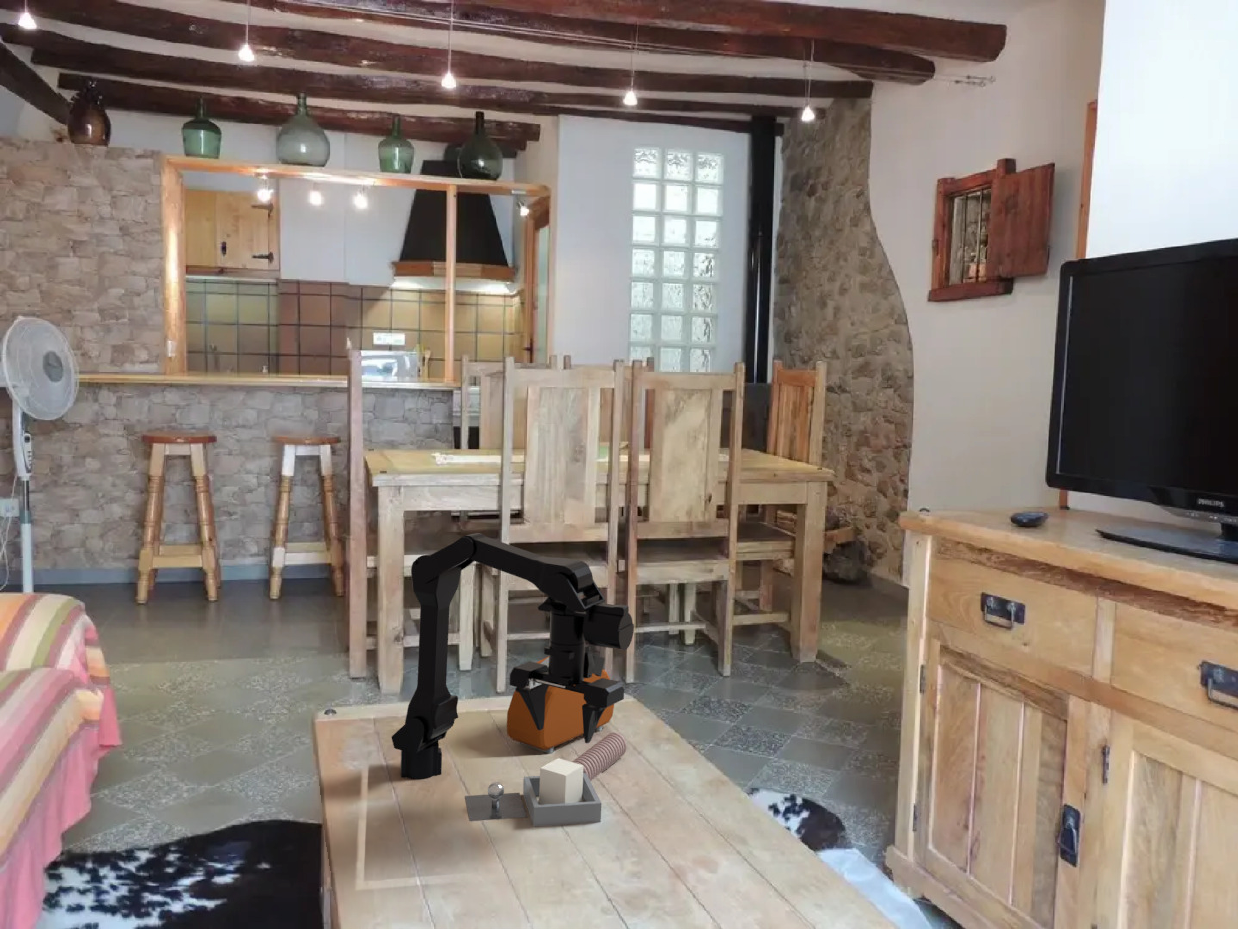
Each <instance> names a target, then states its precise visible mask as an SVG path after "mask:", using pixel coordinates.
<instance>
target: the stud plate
mask: <svg viewBox="0 0 1238 929" xmlns="http://www.w3.org/2000/svg"><path fill="white" fill-rule="evenodd" d="M464 799H465V803H466V810H467V814H468V821H469V822H475V821H477V822H478V821H493V820H507V819H518V818H519V819H522V818H528V814H527V813H526V809H525V806H524V803H523V799H522V796H521V793H520V792H507V793H505V787H504V786H503V784H502V783H500V782H499V781H494V782H492V783H490V785H488V788H487V794H478V795H477V794H476V795H474V794H473V795H464Z"/></svg>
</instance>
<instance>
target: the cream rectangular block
mask: <svg viewBox="0 0 1238 929" xmlns="http://www.w3.org/2000/svg"><path fill="white" fill-rule="evenodd" d="M583 767H584V766H583V765H580V764H577V763H573V762H572V761H570V760H567V759H563V758H559V757H558V758H556V759H554V760H552V761H549V763H547V764H545V765H543V766H541V767H539V768H540V769H539V776H540V788H539V796H538V804H539V805H545V804H561V803H576V802H583V794H582V791H583Z"/></svg>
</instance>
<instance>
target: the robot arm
mask: <svg viewBox="0 0 1238 929" xmlns="http://www.w3.org/2000/svg"><path fill="white" fill-rule="evenodd" d="M475 562H476V563H479V564H482V565H485V566H487V567H489V568H493V569H495V570H498V571H501V572H504V573H506V574H509V575H512V576H515V577H517V578H520V579H523V580H525V581H527V582H530V583H532V584H533V585H534V586H535V588H537V589H538V591H540V593H542V594H544V595H545V596H547V598H546V599H545V600H544V601H543V602H542V603H541V604H540V605H538V606H537V610H538V611H541V612H548V613H550V617H549V618H550V619H549V621H550V622H549V641H548V642H549V643H548V644H549V645H548V646H546V647H544V649H543V650H544V651H543V653H544V655H547V656H549V667H547V666H546V665H544V664H539V663H536V662H534V661H527V662H524V663H522V664H519V665H516V666H514V667H513V668H512V669H511V670H510V673H509V678H508V679H509V680H508V681H509V683H508V684H509V686H511V687H515V690H516V692H519V693H520V695H521V697H522V698H523V700H524V702H525V704H526V706H527V708H528V710H529V711H530V714H531V716H532V718H533V721H534V723H535V725H536V727H537V729H538V730H539V731H540V730H542V729H543V727H544V719H545V695H546V692H547V689H548V687H549V686H553V687H557V688H561V689H565V690H569V691H574V692H578V693H582V694H584V700H585V701H586V704H584V705H582V714H583V732H584V734H583V739H584V743H585V744H589V743H591V742H592V739H593V737H594V734H595V732H596V730H595V729H596V727H597V724H598V722H599V720H600V717H601V715H602V714H603V712H604V710H605V709H606V708H607V707H609V706H611V705H613V704H614V705H615V704H617V703H619V702H621V701H623V700H624V698H625V688H624V685H623V684H622V683H621V681H619V680H614V679H611V678H610V679H605V678H601V679H599V680H596V681H594V682H592V683H590V682H586V681H584V678H590V677H592V674H595V675H596V676H600V677H601V675H602V671H603V669H604V666H605V661H606V657H604V656H599V655H594V654H591V647H590V646H596V647H602V648H608V649H615V650H621V651H626V650H627V649H629V647H630V645H631V643H632V639H633V636H634V632H635V631H634V630H635V627H634V626H635V624H634V623H633V617H632V616H631V614H630V613H629V607H630V606H629V605H628V604H627V605H626V604H612V603H606V599H605V597H604V594H602V592H601V590H600V588H599V587H598V585H597V583H596V582H595V580H594V577H593V573H592V570H591V568H590V566H589V564H588V563H586V562H585V561H583V560H579V559H573V558H567V557H549V556H543V555H539V554H537V553H534V552H531V551H528V550H525V549H522V548H519V547H516V546H514V545H511V544H508V543H505V542H502V541H499V540H497V539H494V538H491V537H488V536H486V535H485V534H483V533H481V532H476V533H471V534H466V535H462V536H461V537H460V538H459V539H457V540H455V541H454V542H452V543H451V544H449V545H447V546H445V547H443V548H441V549H440V550H437V551H436V552H432V553H427V554H422V555H421V556H420V555H419V556H418V557H417V558H416V559H415V560H414V561H413V562H412V564H411V568H410V570H411V571H410V575H411V582H412V583H411V585H412V591H413V593H414V595H415V598H416V599H417V601H418V603H419V606H420V608H419V611H420V612H419V631H418V634H419V636H418V658H417V659H418V660H417V679H416V680H417V682H416V689H415V691H414V693H413V695H412V697H411V699H410V701H409V703H408V705H407V710H406V716H405V720H404V721H405V722H404V725H403V726H401V727H400V728H399V729H398V730H397V731H396V732H395V733H393V735H391V740H392V745H393V748H394V749H395V750H400V778H402V779H403V778H406V779H408V780H414V781H415V780H426V779H429V778H432V777H437V776H441V775H442V765H443V753H442V748H441V747H440V744H439V741H441V740H442V739H445V738H446V735H447V734H448V731H449V730H450V729H451V728H452V727H453V726H454V724H455V720H457V719H459V715H458V703H459V702H458V701H459V697H458V695H453V694H451V692H450V691H449V688H448V686H447V676H448V675H447V674H448V673H447V671H448V652H449V651H448V650H449V648H448V647H449V631H450V630H449V629H450V628H449V627H450V625H449V624H450V622H449V621H450V605H451V602H452V600H453V598H454V596H455V594H456V592H457V590H458V588H459V584H460V579H461V573H462V571H463V570H465V569H466V568H468V567H470V566H471V565H472V564H473V563H475ZM580 596H584V597H582V598H580ZM586 642H588V644H589V645H588V644H586ZM574 685H575V686H574ZM515 690H514V691H515Z"/></svg>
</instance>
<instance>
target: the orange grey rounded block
mask: <svg viewBox="0 0 1238 929" xmlns="http://www.w3.org/2000/svg"><path fill="white" fill-rule="evenodd" d="M535 663H539V664H544V665H546V666H547V667H549V655H547V657H544V658H542V659H541V660H538V661H536V662H535ZM601 678H605V679H610V680H611V678H610V676H609V674H608V672H607V671H606V670H605V669H604V668H603V671H602V675H601V677H600V676H596V675H595V674H592V677H590V678H584V681H586V682H590V683H592V682H594V681H596V680H599V679H601ZM574 686H575V685H574ZM584 704H586V701H585V700H584V694H582V693H578V692H574V691H569V690H565V689H561V688H557V687H553V686H549V687H548V689H547V692H546V695H545V719H544V727H543V729H542V730H540V731H539V730H538V729H537V727H536V725H535V723H534V721H533V718H532V716H531V714H530V711H529V710H528V708H527V706H526V704H525V702H524V700H523V698H522V697H521V695H520V693H519V692H516V690H514V692H513V694H512V696H511V700H510V702H509V707H508V709H507V715H506V733H507V737H509V738H510V739H511V740H512V741H515V742H518V743H520V744H521V745H524V746H526V747H529V748H533V749H535V750H538V751H541V752H544V753H547V754H552V753H553V752H554V749H555V747H556V746H558V745H561V744H564V743H565V742H569V741H570V740H573V739H575V738H577V737H580V736H582V735H584V732H583V714H582V705H584ZM614 709H615V704H613V705H611V706H609V707H607V708H606V709H605V710H604V712H603V714H602V715H601V717H600V720H599V722H598V724H597V727H596V729H595V732H596V731H597V732H601V731H602V730H603V726H604V725H606V724H608V723H609V722H610V721H611V719H612V718H613V715H614Z"/></svg>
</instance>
